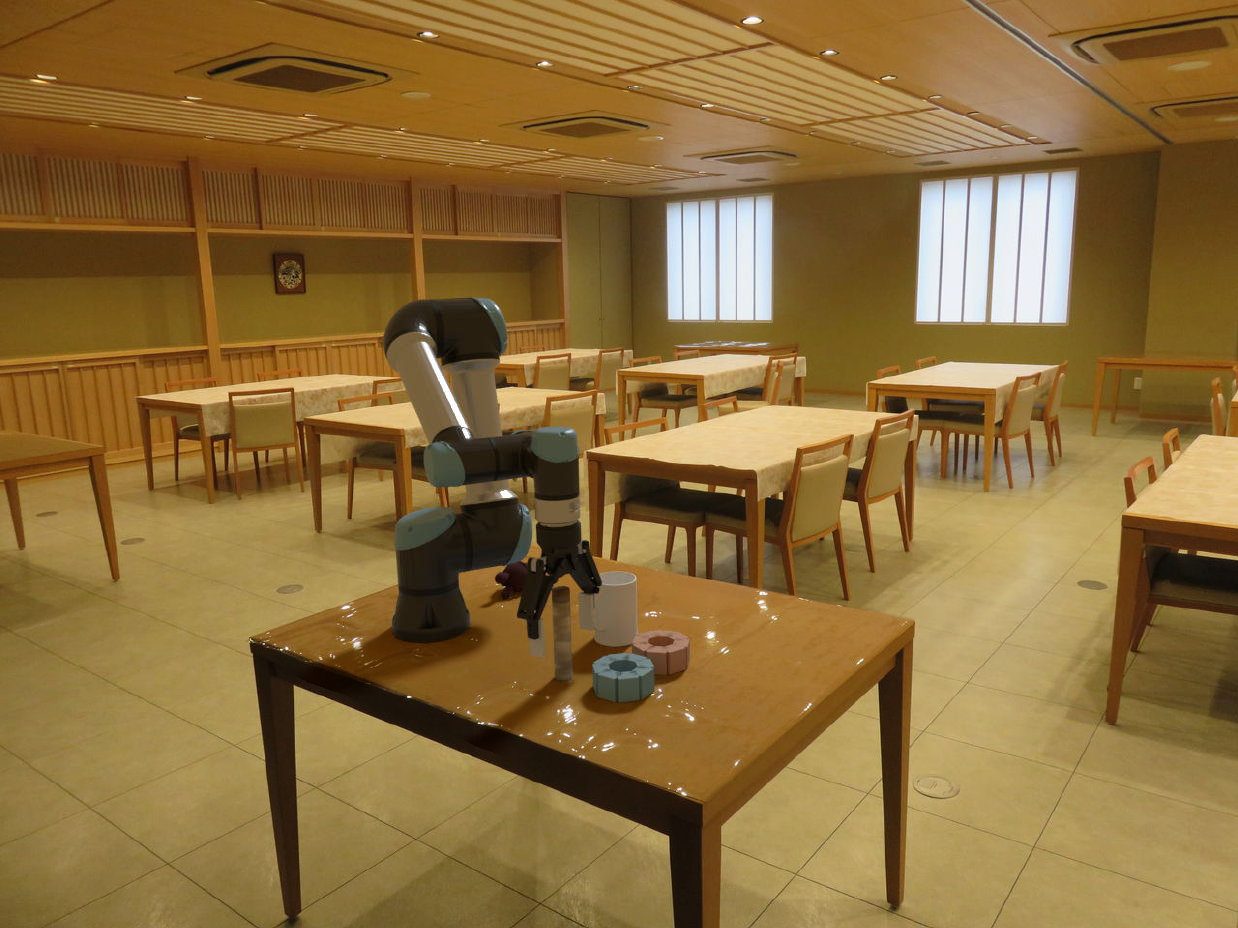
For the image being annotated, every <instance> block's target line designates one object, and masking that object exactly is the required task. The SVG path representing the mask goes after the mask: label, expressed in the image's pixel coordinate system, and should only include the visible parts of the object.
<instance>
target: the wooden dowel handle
mask: <svg viewBox="0 0 1238 928" xmlns="http://www.w3.org/2000/svg"><path fill="white" fill-rule="evenodd" d="M570 589H571V588H570V587H569V586H567V585H566V586H565V585H558V586H553V588H552V590H551V601H552V604H551V605H552V606H551V607H552V627H553V628H552V631H553V632H552V633H553V655H554V656H553V657H554V659H553V661H554V679H555V681H558V682H567V681H571V680H572V679H574V678H573V653H572V651H573V650H572V647H573V646H572V621H571V593H570V592H571V590H570Z"/></svg>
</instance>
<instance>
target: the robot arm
mask: <svg viewBox="0 0 1238 928" xmlns="http://www.w3.org/2000/svg"><path fill="white" fill-rule="evenodd" d="M507 340H508V329H507V324H506V320H505V318H504V315H503V313H502V311H501V309H500V307H499V306H498V305H497V303H496V302H494V301H493V300H492V299H490V298H487V297H472V296H469V297H455V298H454V297H453V298H435V299H433V298H432V299H427V298H425V299H424V298H421V299H416V300H412V301H409V302H408V303H406V304H404V305H402V306H400V307H399V308H398V310H396V311H395V312H394V314H393V315H392V316H391V317H390V318H389V321H388V322H387V324H386V326H385V328H384V332H383V337H382V348H383V354H384V356H385V359H386V362H387V363H388V366H389V367H390V368H391V370H393V371H394V372H395V373H398V375H399V378H400V380H401V382H402V384H403V387H404V389H405V391H406V393H407V396H408V398H409V401H410V403H411V405H412V408H413V410H414V412H415V414H416V416H417V418H418V421H419V423H420V425H421V428H422V430H423V433H424V435H425V437H426V440H427V442H428V444H427V445H426V446H425V448H424V451H423V467H424V470H425V476H426V479H427V481H428V483H429V484H430V485H431V486H432V487H435V488H450V487H452V488H459V487H461V486H462V487H463V486H464V487H465V496H464V497H463V499H462V500H461V501H460V502H459V506H460V508H459V509H460V512H459V513H456V512H455V510H454V509H453V508H452V507H448V506H438V507H435V506H433V507H427V508H422V509H418V510H415V511H413V512H409V513H408V514H405V515H404V516H402V517H401V518H400V519H398V521H397V522H396V523H395V526H394V543H393V546H394V548H395V560H396V561H395V562H396V573H397V584H398V585H397V586H398V587H397V588H398V595H397V599H396V600H397V601H396V605H395V610H394V615H393V616H392V619H391V628H392V629H391V630H392V631H391V632H392V634H393V636H395V637H396V638H398V639H400V640H402V641H404V642H405V641H406V642H411V643H431V642H441V641H445V640H449V639H453V638H455V637H458V636H460V635H462V634H463V633H465V632H466V631H467V630H469V628H470V626H471V613H470V610H469V609H468V607H467V605H466V601H465V598H464V595H463V594H462V591H461V589H460V582H459V581H460V578H459V574H461V573H466V572H472V571H473V572H474V571H478V570H483V569H485V570H486V569H490V568H495V567H506V566H507V565H508V564H512V563H516V562H520V561H521V562H523V560H524V559H526V557H527V556H528V554H529V552H530V549H531V545H532V541H533V521H532V516H531V515H530V510H529V508H528V507H527V506H526V505H525V504H522V503H519V497H518V495H517V494H516V493H514V492H513V491H512V490H511V489H510V487H509V486H510V485H509V480H514V479H521V478H523V479H524V478H530V479H532V480H533V491H534V492H533V494H534V496H533V497H534V498H533V499H534V501H533V502H534V519H535V521H537V522H536V524H535V538H536V540H535V541H536V544H537V546H538V547H539V549H541V553H540V556H539V557H537V558H535V557H529V558H528V559H527V562H528V572H527V576H526V580H525V584H524V588H523V590H522V593H521V597H520V599H519V600H520V601H519V604H518V609H517V612H516V618H517V619H522V620H525V621H526V630H527V638H528V639H529V640H528V641H529V655H530V656H533V657H537V658H540V659H544V658H546V657H547V654H546V633H545V631H546V630H545V618H541V617H542V615H543V612H544V609H545V607H546V606H547V602H548V601H549V597H550V595H551V594H552V588H553V587H554V585H555V584H557V583H558V582H559V580H560V579H561V578H563V577H564V576H565V575H570V578H572V580H574V582H575V584H576V585H577V586H578V587H579V589H580V590H581V591H580V592H578V593H577V596H578V597H577V598H578V620H579V621H578V622H579V625H578V626H579V629H581V630H585V631H589V632H593V631H595V629H594V623H595V608H594V593H596V594H598V593H599V591H600V588H599V587H600V586H601V585H602V580H601V578H600V575H599V574H600V573H599V571H598V568H597V566H596V563H595V560H594V558H593V555H592V552H591V546H590V541H589V540H588V539H587V540H586V539H583V538H582V522H581V521H580V520H579V519H580V518H582V517H581V503H580V502H581V499H580V493H581V492H580V491H581V490H580V448H579V443H578V434H577V431H576V430H575V429H574V428H573V427H569V426H545V427H539V428H537V429H534V430H529V429H528V430H524V429H521V430H516V431H513V432H512V433H510V434H508V435H507V434H506V435H503V431H502V424H501V416H500V408H499V400H498V393H497V386H496V378H495V370H496V369H497V367H498V366H499V365H500V363H501V358H500V356H502V355H503V354H504V353H505V352H506V351H507V348H508V341H507ZM438 359H440V362H441V364H440V362H439V360H438ZM444 371H445V372H446V373H447V374H448V375H450V377H451V378H450V379H451V385H452V387H451V385H450V383H449V381H448V379H447V376H446V375H445V373H444ZM598 586H599V587H598Z"/></svg>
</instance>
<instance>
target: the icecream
mask: <svg viewBox="0 0 1238 928" xmlns="http://www.w3.org/2000/svg"><path fill="white" fill-rule="evenodd" d="M527 572H528V561H527V562H523V561H520V562H516V563H512V564H508V565H506V566H504V569H503V570H502V572H501V571H499V572H498V573H497V574H496V575H495V576H494V581H495V582H496V584H500V585H501V586H502V587H504V588H503V589H502V590H501V594H500V597H501V599H502V600H507V599H508V598H510V596H511V595H512V594H513V592H520V591H523V588H524V584H525V580H526V576H527Z"/></svg>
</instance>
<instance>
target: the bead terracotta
mask: <svg viewBox="0 0 1238 928" xmlns="http://www.w3.org/2000/svg"><path fill="white" fill-rule="evenodd" d="M690 640H691V639H690V638H689V637H688V636H686V635H685V634H682V633H680V632H679V631H676V632H675V631H674V630H661V629H660V630H659V629H656V630H653V629H652V630H649V631H645V632H641V633H638V635H637V636H635V638H634V640H633V642H632V644H631V653H632V654H636V655H640V656H644V657H647V659H650V661H651V662H652V664H653V666H654V675H663V676H666V675H667V674H668V675H673V674H676V673H679V672H682V671H685V670H686V669H688V667H689V664H690V661H691V657H690V656H691V650H690V649H691V645H690V644H691V641H690Z"/></svg>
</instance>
